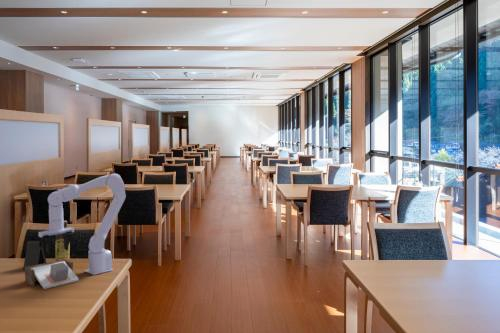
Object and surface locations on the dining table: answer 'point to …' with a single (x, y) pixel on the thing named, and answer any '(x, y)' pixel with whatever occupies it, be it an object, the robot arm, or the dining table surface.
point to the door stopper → (34, 254)
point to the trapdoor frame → (30, 272)
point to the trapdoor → (46, 281)
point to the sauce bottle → (61, 247)
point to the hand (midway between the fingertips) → (57, 251)
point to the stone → (59, 272)
